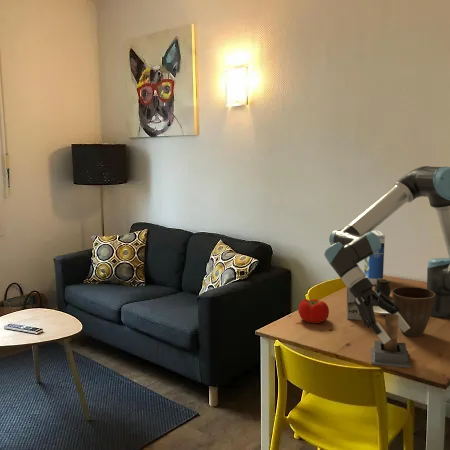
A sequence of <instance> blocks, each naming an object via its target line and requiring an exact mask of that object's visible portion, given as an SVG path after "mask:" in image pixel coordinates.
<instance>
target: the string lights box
mask: <svg viewBox="0 0 450 450" xmlns="http://www.w3.org/2000/svg"><path fill="white" fill-rule="evenodd" d="M371 232H373V233H375V234H376V235H377V236H378V238H379V240H380V242H381V248H380V250H378V251H377V252H376V253H374V254H373V255H371V256H369V257H367V258H366V259H364V271H363V272H364V274H365V275H366V277H365V278H368V279H369V280H370V282H371V283H372V284H373V286H376V284H377V279H384V266H385V265H384V263H385V260H384V259H385V242H386V240H385V239H386V235H384V234H383V233H382V232H381V231H380V230H372V231H371ZM374 276H375V277H376V278H377V279H376V278H375V277H374Z"/></svg>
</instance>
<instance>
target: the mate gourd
mask: <svg viewBox="0 0 450 450" xmlns="http://www.w3.org/2000/svg"><path fill="white" fill-rule="evenodd" d="M374 277H375V276H374ZM375 278H376V277H375ZM376 279H377V278H376ZM374 286H375V287H374V291H376V290H377V289H379V290H380V291H381V292H382V293H383V294H384V295H385V296H387V297H388V298H389V296H390V295H391V293H392V291H391V287H390V281H389V279H386V278H383V279H377V284H376V285H374Z"/></svg>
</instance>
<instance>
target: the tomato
mask: <svg viewBox="0 0 450 450" xmlns="http://www.w3.org/2000/svg"><path fill="white" fill-rule="evenodd" d="M297 308H298V315H299V317H300V318H301V319H302V320H303V321H305V322H306V323H312V324H320V323H322V322H323V321H326V320H327V319H328V318H329V314H330V310H329V306H328V304H327V303H326V302H325V301H322V300H319V299H318V298H317V299H316V298H310V299H307V298H305V299H302V300H301V301H300V302H299V304H298V307H297Z"/></svg>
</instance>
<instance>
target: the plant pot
mask: <svg viewBox="0 0 450 450" xmlns="http://www.w3.org/2000/svg"><path fill="white" fill-rule="evenodd" d="M391 294H392V301H393V302H394V303H395V304H397V305H398V306H399V308H400V310H399V311H398V312H399V314H400V315H401V316H402V318H403V319H404V320H405V322H406V323H407V324H408V326H409V327H410V329H408V330H407V331H405V332H403V331H402V330H401V328H400V327H399V330H400V332H401V333H402V335H404V336H407V337H410V338H411V337H413V338H417V337H421V336H423V334H424V332H425V330H426V328H427V325H428V323H429V320H430V317H431V311H432V308H433V304H434V299H435V293H434V292H433V291H431V290H428V289H427V288H423V287H417V286H416V287H415V286H401V287H399V286H398V287H396V288H393V289H392V291H391Z"/></svg>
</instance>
